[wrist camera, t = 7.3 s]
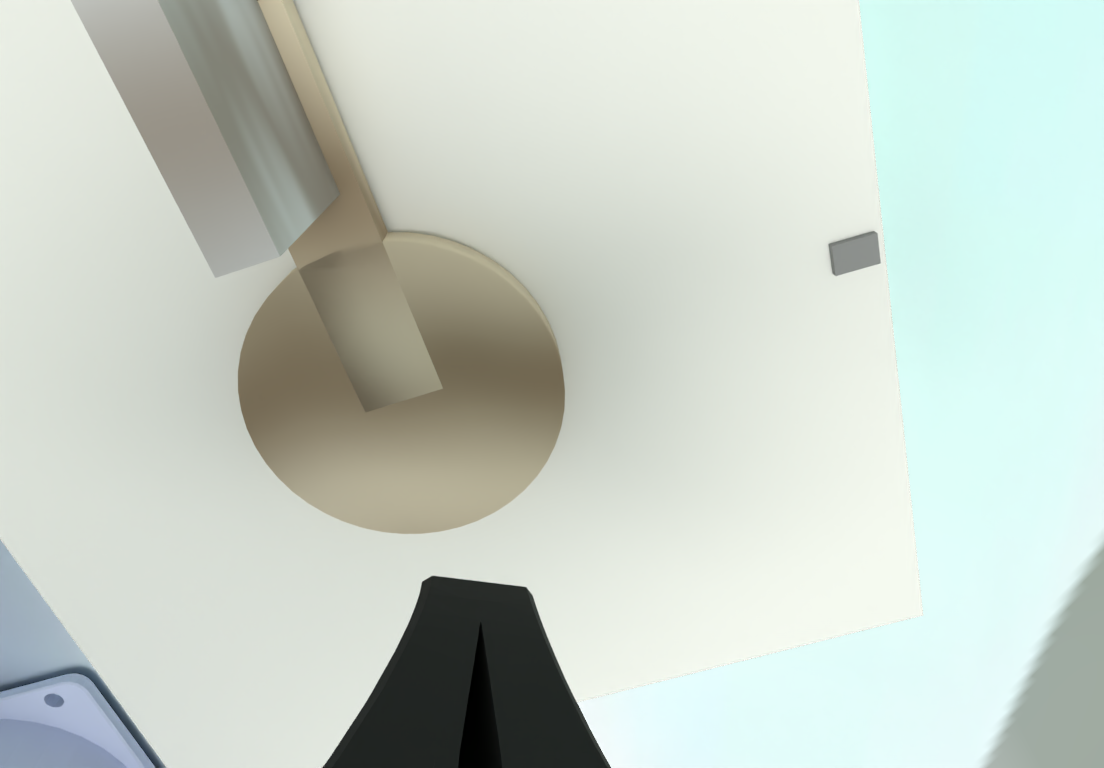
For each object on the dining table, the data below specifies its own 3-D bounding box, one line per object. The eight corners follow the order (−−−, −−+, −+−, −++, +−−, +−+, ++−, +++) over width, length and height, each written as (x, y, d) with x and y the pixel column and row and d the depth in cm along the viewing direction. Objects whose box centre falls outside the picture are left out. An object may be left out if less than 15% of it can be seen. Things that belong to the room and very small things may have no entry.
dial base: (201, 770, 24) (187, 806, 23) (-326, 16, 15) (-391, 16, 14) (906, 591, 23) (926, 620, 22) (796, -373, 14) (821, -406, 12)
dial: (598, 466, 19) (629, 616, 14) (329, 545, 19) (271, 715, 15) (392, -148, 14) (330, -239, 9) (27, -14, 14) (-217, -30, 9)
